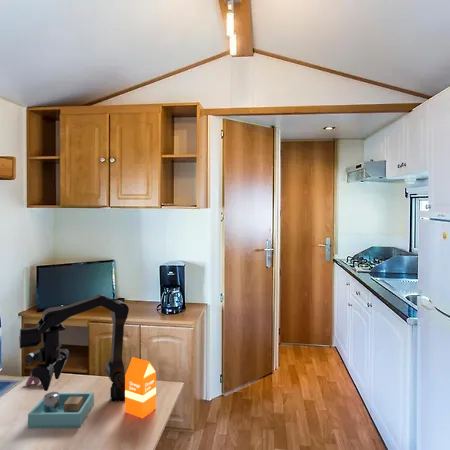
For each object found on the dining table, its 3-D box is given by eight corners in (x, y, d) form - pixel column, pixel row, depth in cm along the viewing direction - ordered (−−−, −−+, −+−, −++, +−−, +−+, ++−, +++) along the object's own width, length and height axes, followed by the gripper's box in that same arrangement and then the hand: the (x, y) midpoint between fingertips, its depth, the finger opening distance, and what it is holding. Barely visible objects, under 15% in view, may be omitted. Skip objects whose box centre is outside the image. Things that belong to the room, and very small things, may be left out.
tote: (93, 405, 143) (93, 392, 143) (80, 427, 128) (80, 413, 128) (47, 405, 142) (47, 393, 142) (28, 428, 127) (28, 414, 127)
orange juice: (142, 418, 134) (142, 365, 133) (124, 412, 138) (124, 360, 138) (156, 408, 141) (156, 357, 140) (138, 402, 145) (138, 353, 144)
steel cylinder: (61, 409, 138) (61, 391, 137) (55, 417, 133) (55, 398, 132) (48, 410, 138) (47, 391, 137) (41, 417, 133) (41, 398, 132)
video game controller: (51, 387, 160) (55, 370, 163) (45, 387, 156) (49, 370, 159) (30, 386, 161) (34, 369, 164) (24, 386, 157) (28, 369, 160)
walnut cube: (82, 409, 138) (82, 396, 138) (77, 417, 133) (77, 403, 133) (69, 409, 138) (69, 396, 138) (64, 417, 133) (63, 403, 133)
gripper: (40, 334, 143) (41, 373, 144) (15, 353, 125) (16, 397, 125) (69, 334, 144) (69, 373, 144) (48, 352, 125) (48, 397, 125)
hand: (51, 384), depth 135 cm, fingers open, 9 cm apart
